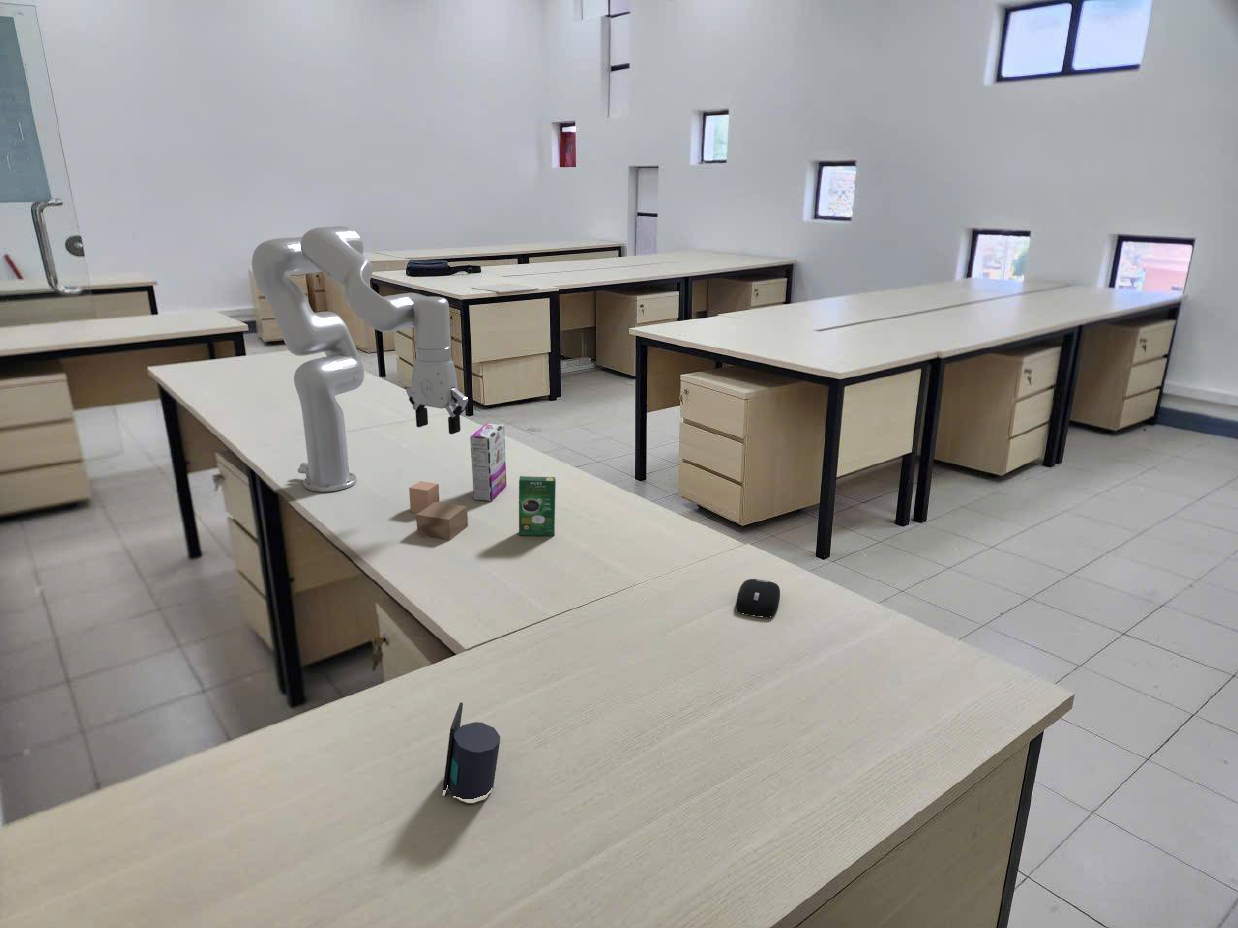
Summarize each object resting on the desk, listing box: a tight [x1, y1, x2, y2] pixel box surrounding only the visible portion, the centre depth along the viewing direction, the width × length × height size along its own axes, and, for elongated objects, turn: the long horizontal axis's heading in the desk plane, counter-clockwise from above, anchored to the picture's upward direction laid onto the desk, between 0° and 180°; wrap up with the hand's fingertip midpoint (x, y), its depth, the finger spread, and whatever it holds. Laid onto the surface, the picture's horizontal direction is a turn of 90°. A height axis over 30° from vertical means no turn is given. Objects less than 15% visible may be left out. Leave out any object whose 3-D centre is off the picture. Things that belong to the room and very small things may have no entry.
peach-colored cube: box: [408, 481, 440, 514], centre depth 190 cm, size 5×5×6 cm
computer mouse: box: [735, 578, 781, 617], centre depth 152 cm, size 8×12×4 cm, turn 161°
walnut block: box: [415, 501, 469, 541], centre depth 179 cm, size 8×8×5 cm
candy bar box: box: [470, 422, 507, 502], centre depth 199 cm, size 11×5×16 cm, turn 168°
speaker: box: [442, 702, 501, 799], centre depth 103 cm, size 8×6×10 cm
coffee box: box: [518, 475, 557, 537], centre depth 177 cm, size 8×3×13 cm, turn 92°
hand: (438, 429), depth 185 cm, fingers open, 9 cm apart
